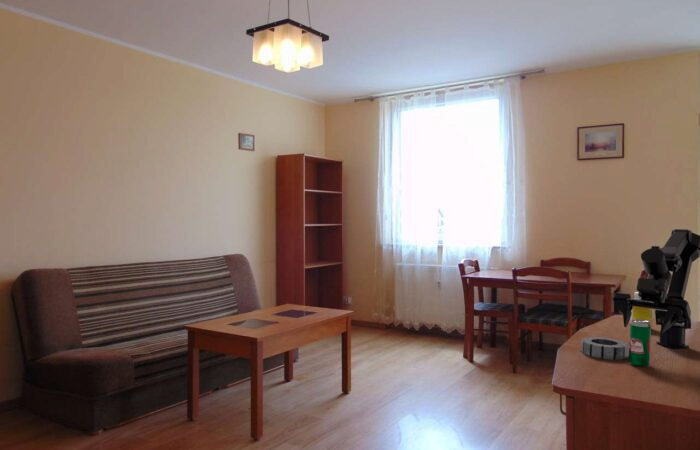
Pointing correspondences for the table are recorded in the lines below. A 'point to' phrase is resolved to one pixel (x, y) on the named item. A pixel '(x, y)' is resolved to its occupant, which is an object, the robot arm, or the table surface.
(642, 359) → the soda can
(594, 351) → the ring
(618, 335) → the table surface
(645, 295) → the robot arm
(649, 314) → the supplement bottle
